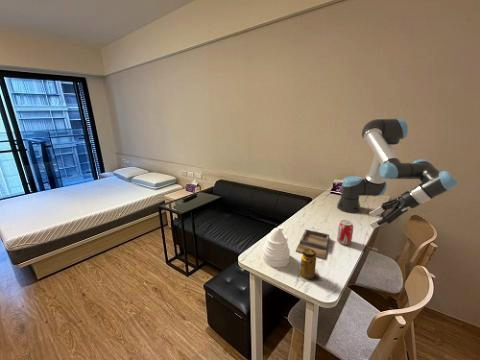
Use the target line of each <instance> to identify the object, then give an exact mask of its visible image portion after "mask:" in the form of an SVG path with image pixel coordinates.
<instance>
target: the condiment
mask: <svg viewBox="0 0 480 360" xmlns="http://www.w3.org/2000/svg"><path fill="white" fill-rule="evenodd" d="M316 263H317V257H316V253H315V251H314V250H312V249H304V250H303V254H301V262H300V269H297V270H298V271H297V272H298V274H299V277H300V279H301V281H302V282H313V281H315V282H319V281H323V280H322V277H321V275H320V274H319V271H318V269H316V265H317V264H316Z"/></svg>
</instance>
